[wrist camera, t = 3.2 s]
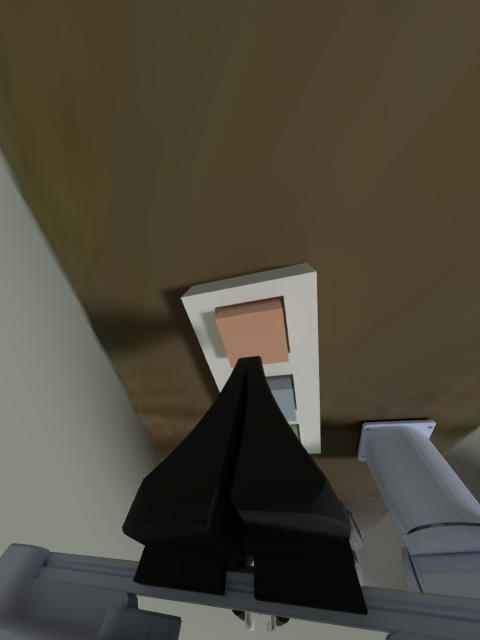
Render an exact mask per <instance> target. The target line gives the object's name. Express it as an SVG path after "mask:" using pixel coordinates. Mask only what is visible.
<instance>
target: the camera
mask: <svg viewBox="0 0 480 640" xmlns="http://www.w3.org/2000/svg"><path fill="white" fill-rule="evenodd" d="M343 509H344V511H345V513H346V516H347V518H348V521H349V523H350V526H351V531H352V532H351V536H350V541H349V542H350V545H351V549H352V552H353V556H354V559H355V568H356V571H357V575H358V578H359V582H360V585H361V586H362V574H361V571H360V567H359V564H358V560H357V557H356V554H355V551H358V547H360V545H362V544H363V541H362V538H361V535H360V531H359V528H358V525H357V523H356V520H355V517H354V515H353V512H349V510H346V509H345V507H343Z"/></svg>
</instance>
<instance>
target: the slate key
mask: <svg viewBox="0 0 480 640" xmlns="http://www.w3.org/2000/svg"><path fill="white" fill-rule="evenodd" d="M266 380H267V383H268V385H269V387H270V390H271V392H272V394H273V396H274V398H275V400H276V402H277V404H278V406H279V408H280V410H281V411H282V413H283V415H284V417H285V418H286V420H287V422H289V421H297V420H296V413H295V405H294V397H293V389H292V384H291V379H290V374H288V375H277V376H267V377H266Z"/></svg>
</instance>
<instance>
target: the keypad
mask: <svg viewBox="0 0 480 640" xmlns="http://www.w3.org/2000/svg"><path fill="white" fill-rule="evenodd" d="M275 297H279V298H280V302H281V305H282V310H283V318H284V326H285V334H286V342H287V350H288V357H289V362H281V363H272V364H263V368H264V373H265V377H267V376H277V375H288V374H290V379H291V384H292V389H293V397H294V405H295V413H296V420H297V421H289V422H288V423H289V424H296V426H297V432H298V437H299V440H300V442H301V443H302V445H303V446H304V448H305V449H306V450H307V452H308V453H309V454H312V453H321V443H320V401H319V359H318V318H317V276H316V271H315V270H314V269H313V268H312V267H311V266H310V265H309V264H307V263H302V264H297V265H292V266H287V267H283V268H278V269H273V270H268V271H263V272H258V273H253V274H248V275H243V276H239V277H234V278H229V279H224V280H219V281H214V282H209V283H204V284H199V285H194V286H192V287H191V288H190V289H189V290H188V291H187V292H186V293H185V294H184V295H183V296H182V297H181V299H182V302H183V304H184V307H185V309H186V311H187V314H188V316H189V319H190V321H191V324H192V326H193V328H194V331H195V333H196V336H197V338H198V341H199V343H200V345H201V348H202V350H203V353H204V355H205V358H206V360H207V362H208V365H209V367H210V370H211V372H212V374H213V377H214V379H215V382H216V384H217V387H218V389H219V391H220V392H221V390H222V389H223V387H224V386H225V384H226V382H227V380H228V378H229V377H230V375H231V373H232V371H233V369H234V368H231V366H230V363H229V360H228V357H227V354H226V351H225V348H224V345H223V342H222V339H221V336H220V333H219V330H218V327H217V324H216V322H215V317H216V315H217V313H218V310H219V308H220V307H224V306H230V305H235V304H241V303H247V302H252V301H258V300H264V299H270V298H275Z"/></svg>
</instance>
